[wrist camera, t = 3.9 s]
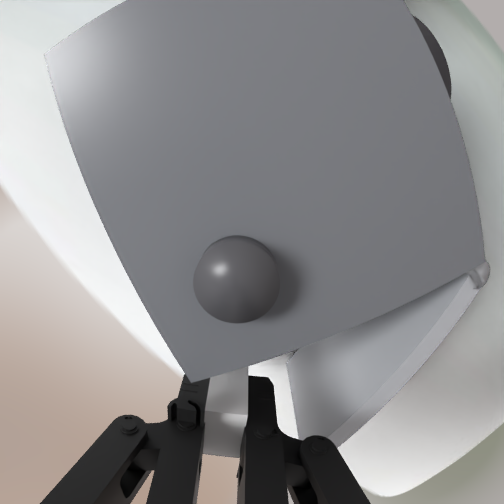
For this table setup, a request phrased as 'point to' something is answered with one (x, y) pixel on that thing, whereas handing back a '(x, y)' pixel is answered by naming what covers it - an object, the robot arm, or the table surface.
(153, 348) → the table surface
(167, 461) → the robot arm
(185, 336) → the camera body
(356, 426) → the side door
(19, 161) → the table surface
